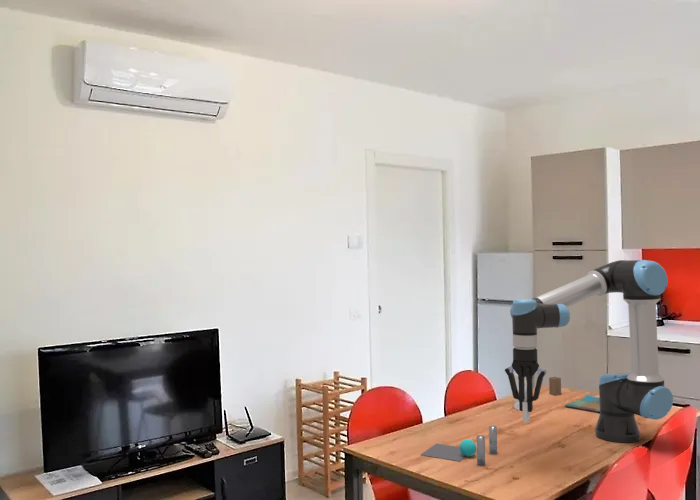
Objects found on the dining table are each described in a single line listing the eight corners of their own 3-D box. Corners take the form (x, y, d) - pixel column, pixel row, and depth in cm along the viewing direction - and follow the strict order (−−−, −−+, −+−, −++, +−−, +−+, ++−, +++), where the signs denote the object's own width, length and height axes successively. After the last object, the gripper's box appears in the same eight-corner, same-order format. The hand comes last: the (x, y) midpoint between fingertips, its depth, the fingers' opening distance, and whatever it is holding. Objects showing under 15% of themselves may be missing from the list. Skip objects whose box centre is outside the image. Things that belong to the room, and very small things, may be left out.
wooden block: (555, 393, 297) (554, 376, 297) (561, 394, 294) (561, 377, 294) (549, 394, 295) (548, 377, 295) (555, 395, 292) (555, 378, 292)
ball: (477, 437, 207) (462, 436, 210) (472, 442, 202) (456, 441, 205) (478, 454, 207) (463, 452, 210) (474, 459, 202) (458, 457, 205)
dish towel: (624, 405, 274) (624, 399, 274) (602, 415, 257) (602, 409, 257) (587, 399, 286) (586, 394, 286) (563, 408, 269) (563, 403, 269)
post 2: (498, 452, 209) (497, 426, 209) (495, 455, 206) (495, 428, 206) (490, 451, 210) (490, 425, 210) (488, 453, 208) (487, 427, 208)
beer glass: (520, 411, 263) (520, 376, 263) (509, 408, 269) (508, 373, 270) (532, 409, 266) (532, 374, 267) (521, 406, 273) (520, 372, 273)
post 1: (486, 463, 198) (485, 435, 198) (483, 466, 196) (483, 438, 196) (478, 462, 199) (478, 434, 199) (475, 465, 197) (475, 436, 197)
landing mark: (474, 449, 212) (474, 449, 212) (459, 461, 200) (459, 461, 200) (436, 444, 219) (436, 443, 219) (420, 455, 207) (420, 454, 207)
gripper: (548, 347, 196) (549, 421, 196) (508, 344, 203) (509, 416, 203) (542, 350, 190) (544, 427, 190) (501, 347, 197) (502, 421, 196)
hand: (526, 421), depth 196 cm, fingers closed
